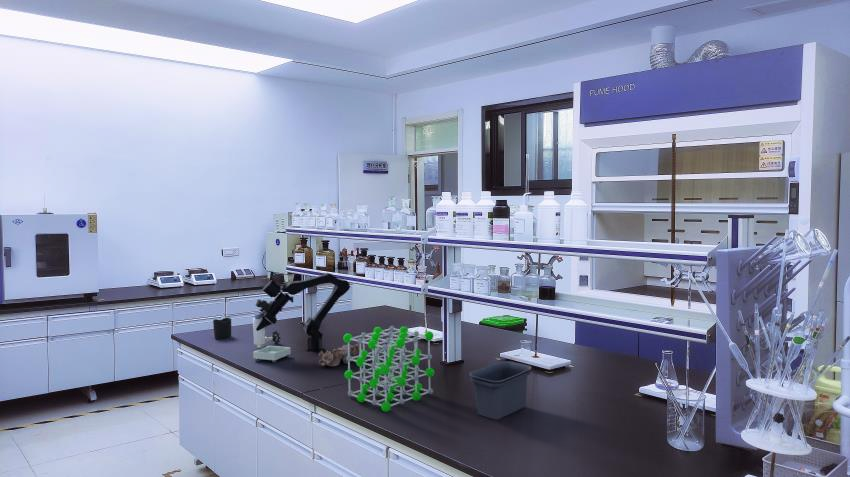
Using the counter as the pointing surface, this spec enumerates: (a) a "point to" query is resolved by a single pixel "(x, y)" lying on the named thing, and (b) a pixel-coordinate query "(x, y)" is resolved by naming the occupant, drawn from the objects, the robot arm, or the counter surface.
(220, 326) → the pen holder
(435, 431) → the counter surface
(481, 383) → the storage bin
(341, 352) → the mineral formation
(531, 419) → the counter surface
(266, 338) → the valve
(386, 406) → the molecular structure model
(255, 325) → the bottle
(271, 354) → the shallow mint tray
